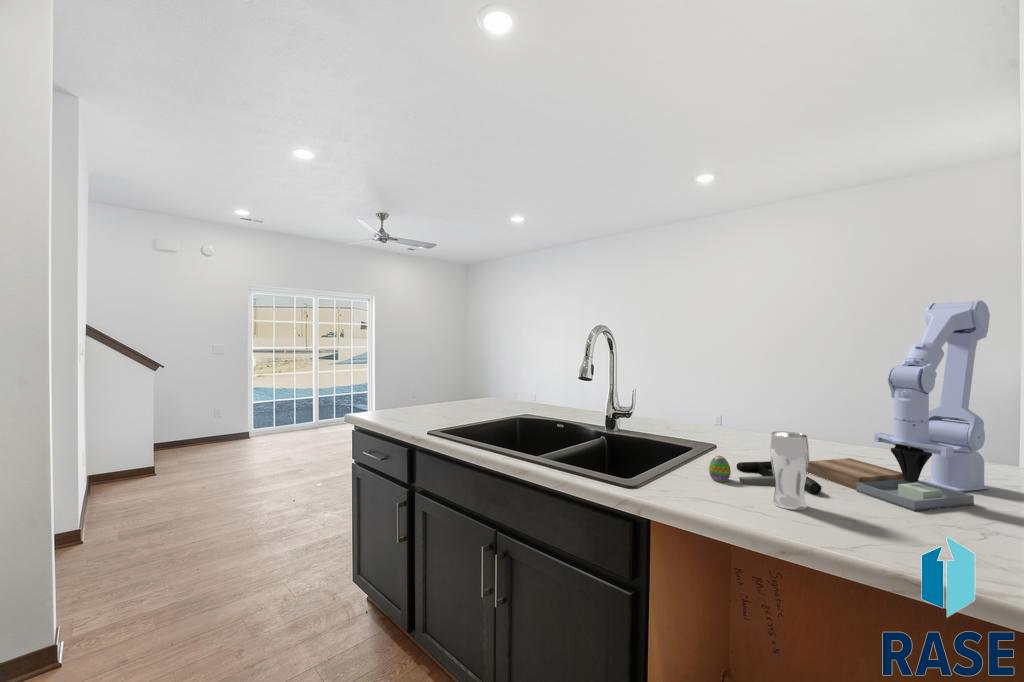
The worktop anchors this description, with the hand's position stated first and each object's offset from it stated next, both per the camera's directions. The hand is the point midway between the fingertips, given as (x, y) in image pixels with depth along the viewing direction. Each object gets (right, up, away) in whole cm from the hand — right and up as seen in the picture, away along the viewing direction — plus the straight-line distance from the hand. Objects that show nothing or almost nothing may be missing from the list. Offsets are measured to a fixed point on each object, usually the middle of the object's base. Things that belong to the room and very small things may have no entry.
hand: (911, 481), depth 97 cm
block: (0, -3, -2) cm, 4 cm away
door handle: (-24, -4, +12) cm, 28 cm away
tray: (0, -4, 0) cm, 4 cm away
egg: (-36, -4, +13) cm, 39 cm away
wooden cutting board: (-3, -4, +13) cm, 13 cm away
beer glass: (-30, -4, -4) cm, 30 cm away
